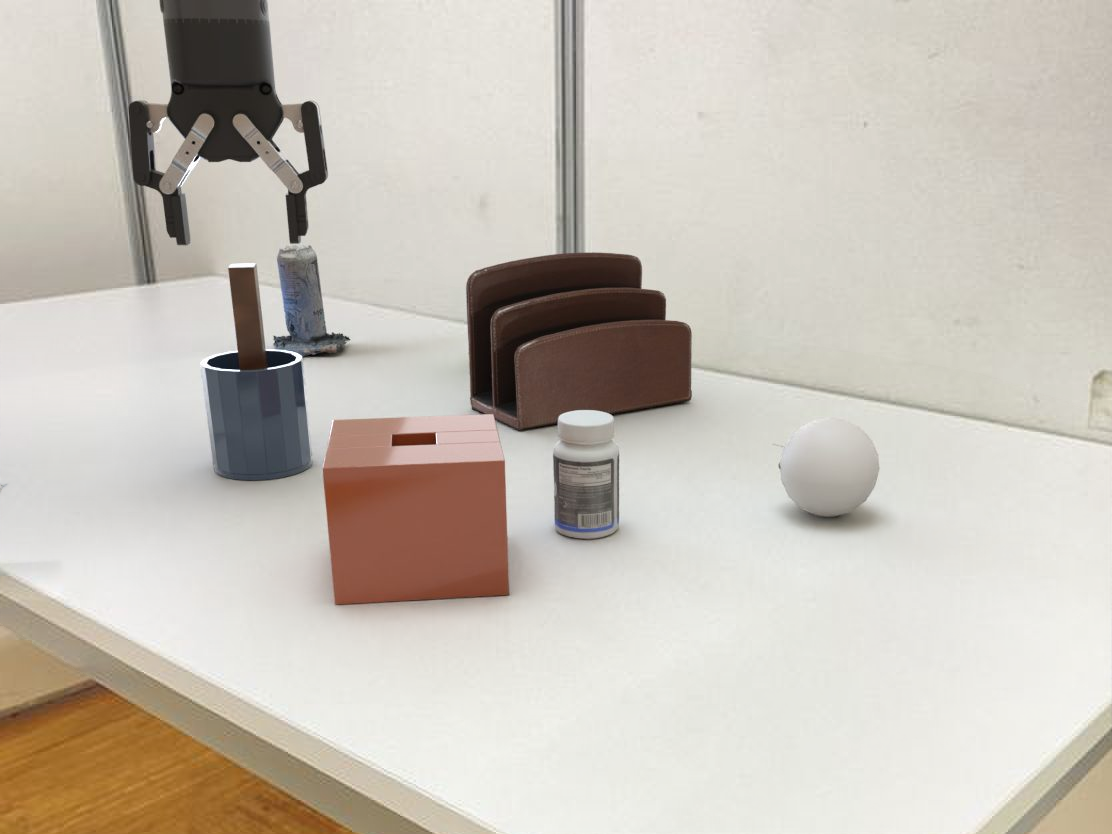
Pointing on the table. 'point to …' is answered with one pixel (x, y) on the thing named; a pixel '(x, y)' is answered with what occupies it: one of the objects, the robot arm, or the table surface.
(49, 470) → the table surface
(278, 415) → the cup
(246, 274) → the stick
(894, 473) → the table surface
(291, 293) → the beverage can
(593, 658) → the table surface
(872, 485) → the white ball
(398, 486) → the tissue box
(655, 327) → the letter holder
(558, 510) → the pill bottle
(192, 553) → the table surface
